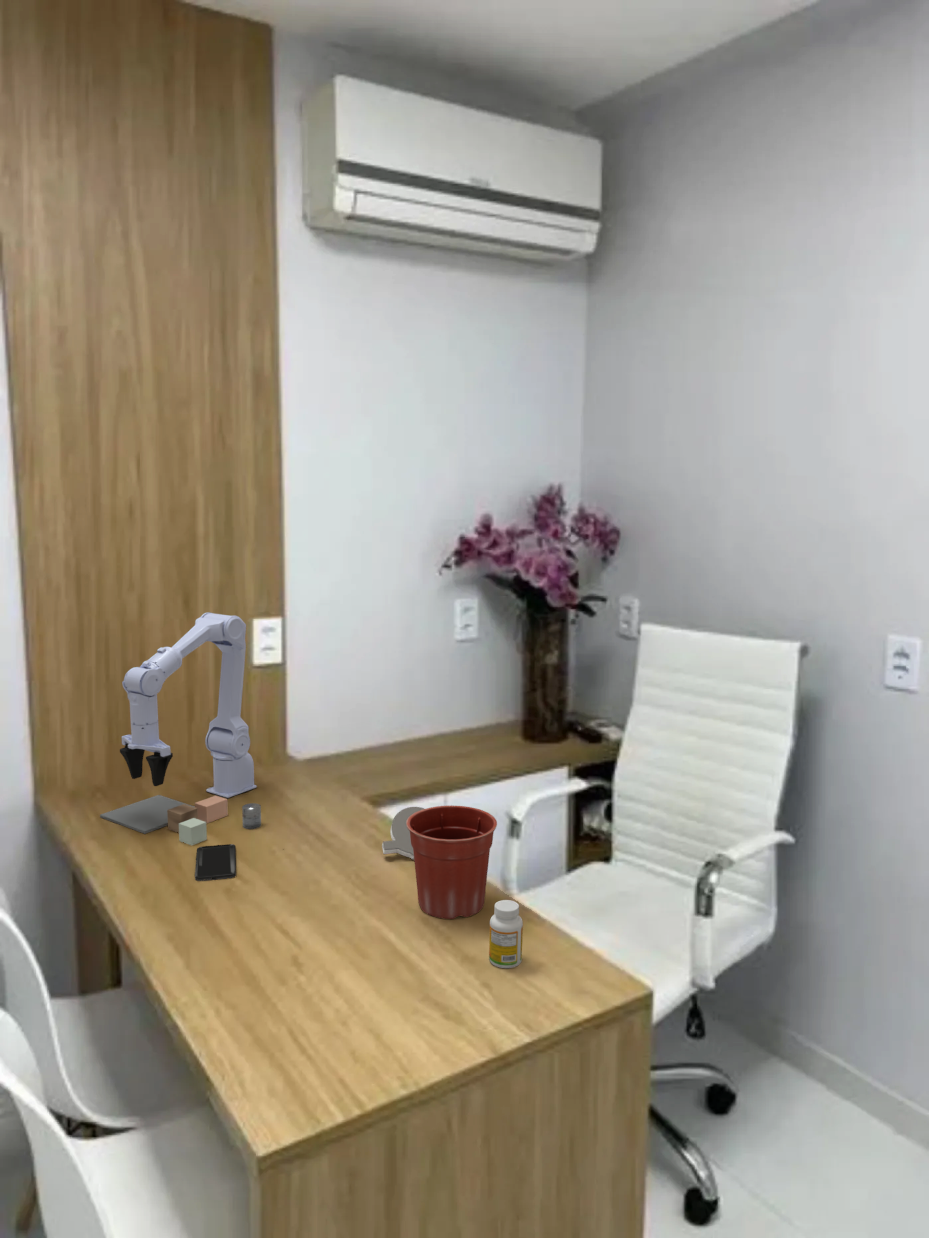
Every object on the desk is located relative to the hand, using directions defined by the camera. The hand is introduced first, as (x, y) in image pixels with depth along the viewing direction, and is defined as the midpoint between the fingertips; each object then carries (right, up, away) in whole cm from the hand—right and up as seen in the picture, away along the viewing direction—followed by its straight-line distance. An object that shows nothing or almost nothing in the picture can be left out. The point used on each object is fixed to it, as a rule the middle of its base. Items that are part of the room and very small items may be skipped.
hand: (147, 781), depth 207 cm
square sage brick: (+12, -11, -7) cm, 18 cm away
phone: (+20, -14, -18) cm, 30 cm away
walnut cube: (+8, -10, -1) cm, 13 cm away
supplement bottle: (+77, -20, -53) cm, 96 cm away
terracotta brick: (+13, -9, +6) cm, 17 cm away
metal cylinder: (+23, -10, +1) cm, 25 cm away
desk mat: (-1, -9, +7) cm, 11 cm away
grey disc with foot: (+60, -13, -11) cm, 62 cm away
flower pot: (+68, -17, -34) cm, 78 cm away
